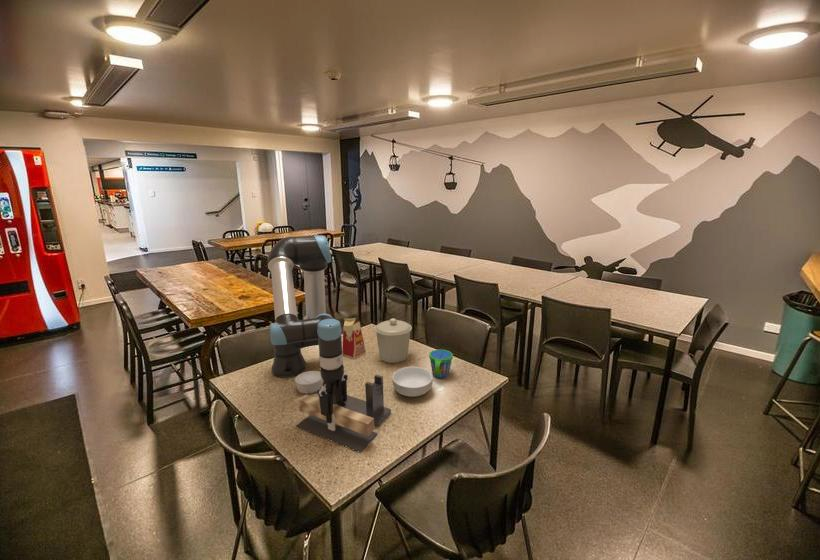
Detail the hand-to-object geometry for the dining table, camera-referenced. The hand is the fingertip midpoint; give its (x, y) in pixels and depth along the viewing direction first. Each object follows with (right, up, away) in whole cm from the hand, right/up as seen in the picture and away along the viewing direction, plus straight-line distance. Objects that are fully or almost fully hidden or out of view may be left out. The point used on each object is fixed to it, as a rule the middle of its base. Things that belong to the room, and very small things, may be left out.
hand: (335, 425), depth 129 cm
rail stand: (+5, +1, +12) cm, 13 cm away
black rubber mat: (0, -2, 0) cm, 2 cm away
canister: (+18, +12, +54) cm, 58 cm away
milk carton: (-3, +13, +59) cm, 61 cm away
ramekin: (-17, +5, +28) cm, 33 cm away
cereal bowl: (+27, +4, +25) cm, 37 cm away
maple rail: (0, +2, -1) cm, 2 cm away
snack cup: (+40, +8, +38) cm, 56 cm away
